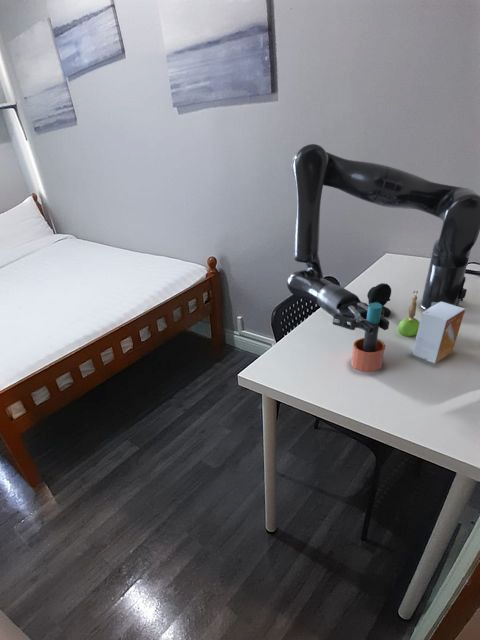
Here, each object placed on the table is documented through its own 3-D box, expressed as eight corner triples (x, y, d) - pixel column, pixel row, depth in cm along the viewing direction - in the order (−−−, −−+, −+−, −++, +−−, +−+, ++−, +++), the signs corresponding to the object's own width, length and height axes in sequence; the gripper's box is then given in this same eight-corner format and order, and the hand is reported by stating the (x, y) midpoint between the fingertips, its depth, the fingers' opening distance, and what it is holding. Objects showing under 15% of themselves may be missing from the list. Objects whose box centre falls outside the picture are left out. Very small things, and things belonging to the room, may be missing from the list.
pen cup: (369, 355, 109) (372, 334, 106) (388, 369, 104) (392, 347, 100) (345, 363, 108) (347, 342, 104) (363, 377, 102) (366, 356, 98)
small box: (434, 366, 102) (446, 320, 94) (411, 356, 106) (420, 312, 99) (453, 353, 105) (466, 308, 97) (429, 344, 110) (440, 300, 102)
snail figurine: (418, 329, 116) (427, 291, 109) (418, 341, 111) (427, 301, 104) (397, 328, 118) (404, 290, 111) (396, 339, 114) (403, 300, 106)
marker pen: (368, 356, 106) (376, 301, 97) (376, 362, 104) (385, 306, 94) (358, 360, 106) (365, 304, 96) (366, 365, 103) (374, 309, 94)
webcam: (377, 306, 130) (381, 276, 124) (396, 314, 124) (401, 284, 118) (358, 313, 128) (362, 284, 122) (377, 322, 122) (381, 292, 116)
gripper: (315, 295, 106) (357, 322, 92) (361, 282, 108) (408, 306, 95) (314, 321, 110) (354, 350, 97) (358, 307, 113) (403, 333, 99)
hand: (380, 328), depth 96 cm, fingers closed on marker pen, 3 cm apart
